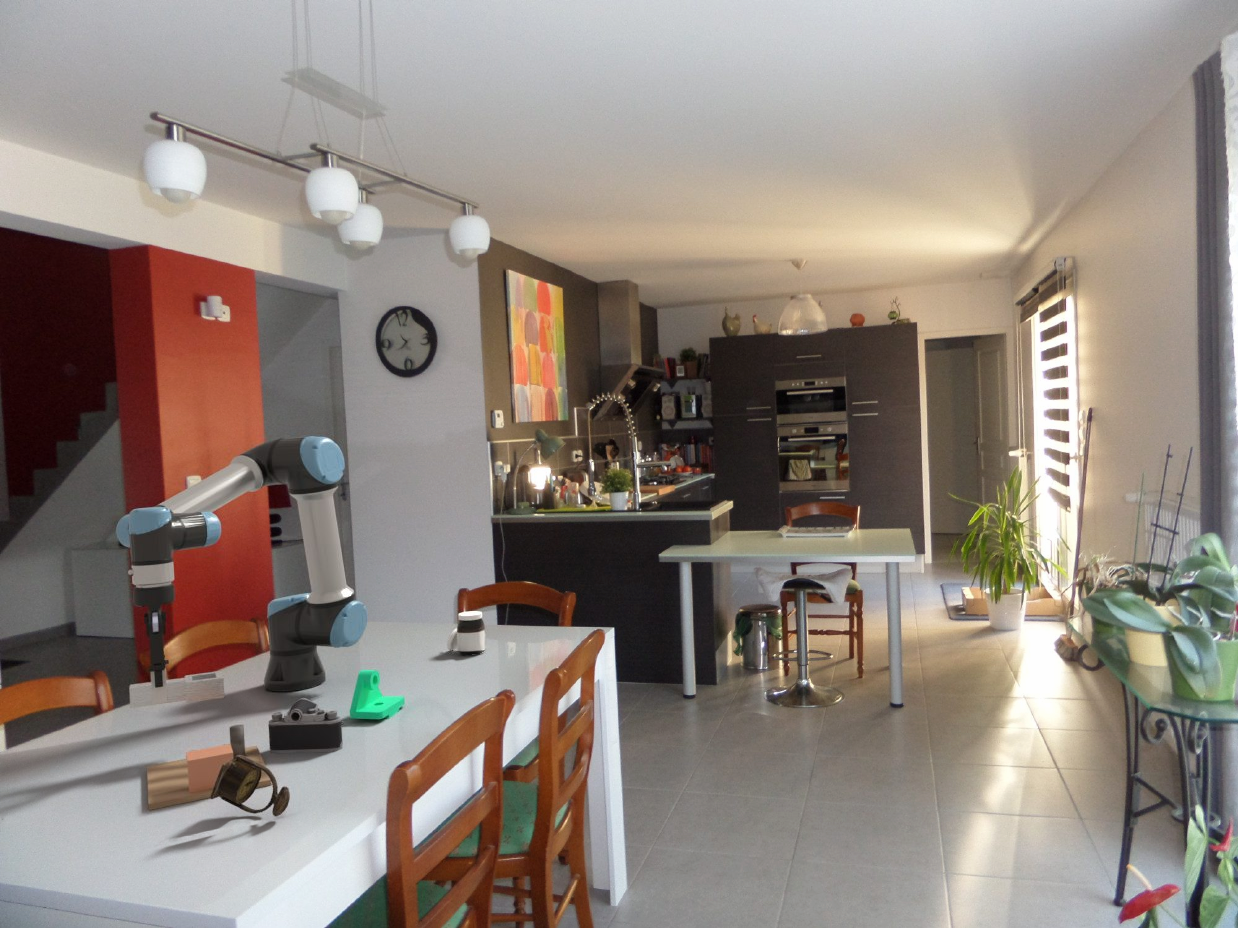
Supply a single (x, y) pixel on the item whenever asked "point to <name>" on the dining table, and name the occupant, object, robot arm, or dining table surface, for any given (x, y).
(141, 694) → the link
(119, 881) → the dining table surface
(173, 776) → the board
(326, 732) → the camera
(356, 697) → the camera mount
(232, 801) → the brass desk clock
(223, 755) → the block
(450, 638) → the spread jar
